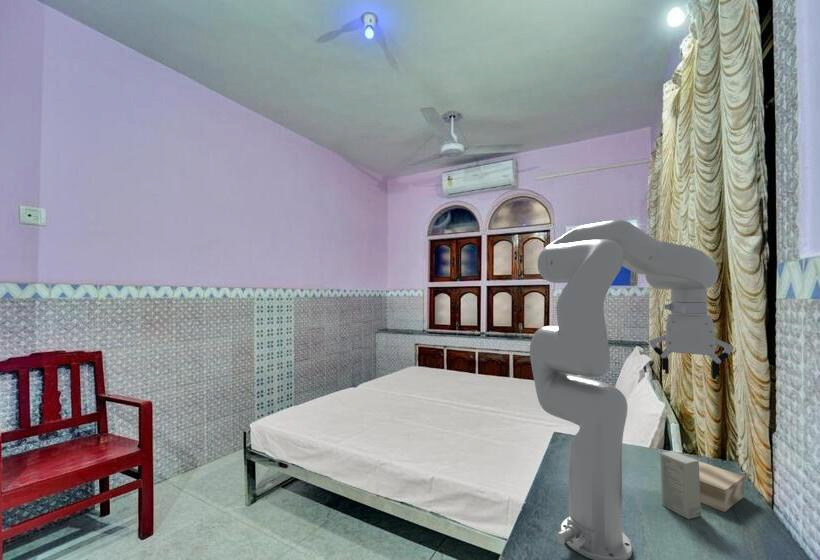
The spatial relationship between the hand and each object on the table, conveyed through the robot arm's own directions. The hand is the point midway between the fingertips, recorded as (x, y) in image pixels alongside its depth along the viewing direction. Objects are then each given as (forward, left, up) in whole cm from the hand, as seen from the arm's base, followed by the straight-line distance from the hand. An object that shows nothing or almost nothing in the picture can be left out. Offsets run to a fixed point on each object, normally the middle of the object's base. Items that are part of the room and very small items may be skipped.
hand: (689, 375), depth 94 cm
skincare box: (-14, -3, -29) cm, 32 cm away
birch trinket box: (0, -4, -29) cm, 29 cm away
